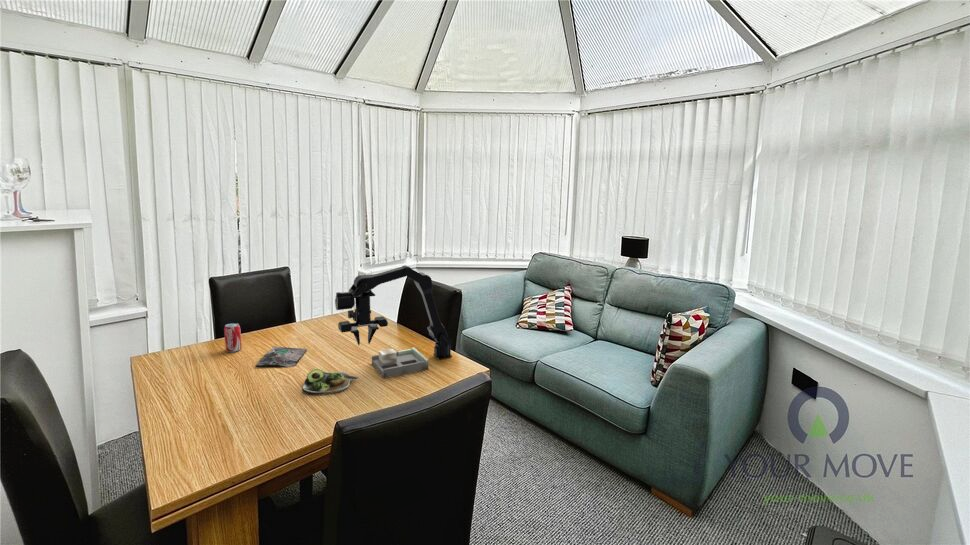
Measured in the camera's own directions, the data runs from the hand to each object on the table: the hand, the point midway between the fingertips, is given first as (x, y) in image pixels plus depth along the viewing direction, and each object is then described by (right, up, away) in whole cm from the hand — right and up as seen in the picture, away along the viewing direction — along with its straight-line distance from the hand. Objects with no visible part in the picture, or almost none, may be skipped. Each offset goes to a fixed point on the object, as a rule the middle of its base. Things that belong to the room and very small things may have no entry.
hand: (363, 344), depth 177 cm
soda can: (-63, -6, +17) cm, 65 cm away
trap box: (+13, -10, +6) cm, 18 cm away
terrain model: (-38, -8, +11) cm, 40 cm away
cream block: (+8, -8, +7) cm, 13 cm away
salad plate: (-11, -14, -12) cm, 21 cm away
